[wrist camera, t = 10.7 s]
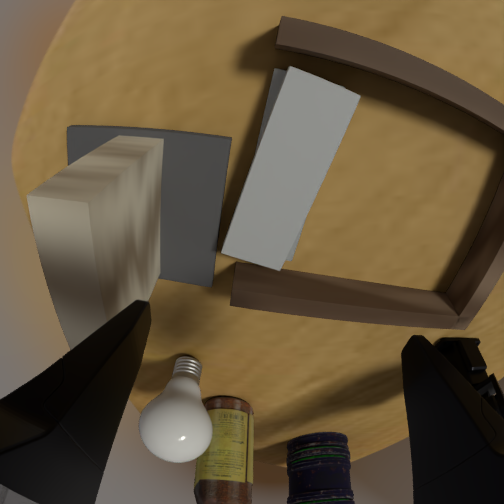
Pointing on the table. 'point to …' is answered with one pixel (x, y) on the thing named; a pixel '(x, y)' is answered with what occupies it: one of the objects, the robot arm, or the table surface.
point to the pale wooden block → (100, 232)
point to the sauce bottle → (227, 454)
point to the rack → (367, 293)
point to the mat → (177, 194)
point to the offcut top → (288, 167)
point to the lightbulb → (178, 416)
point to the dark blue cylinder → (319, 469)
